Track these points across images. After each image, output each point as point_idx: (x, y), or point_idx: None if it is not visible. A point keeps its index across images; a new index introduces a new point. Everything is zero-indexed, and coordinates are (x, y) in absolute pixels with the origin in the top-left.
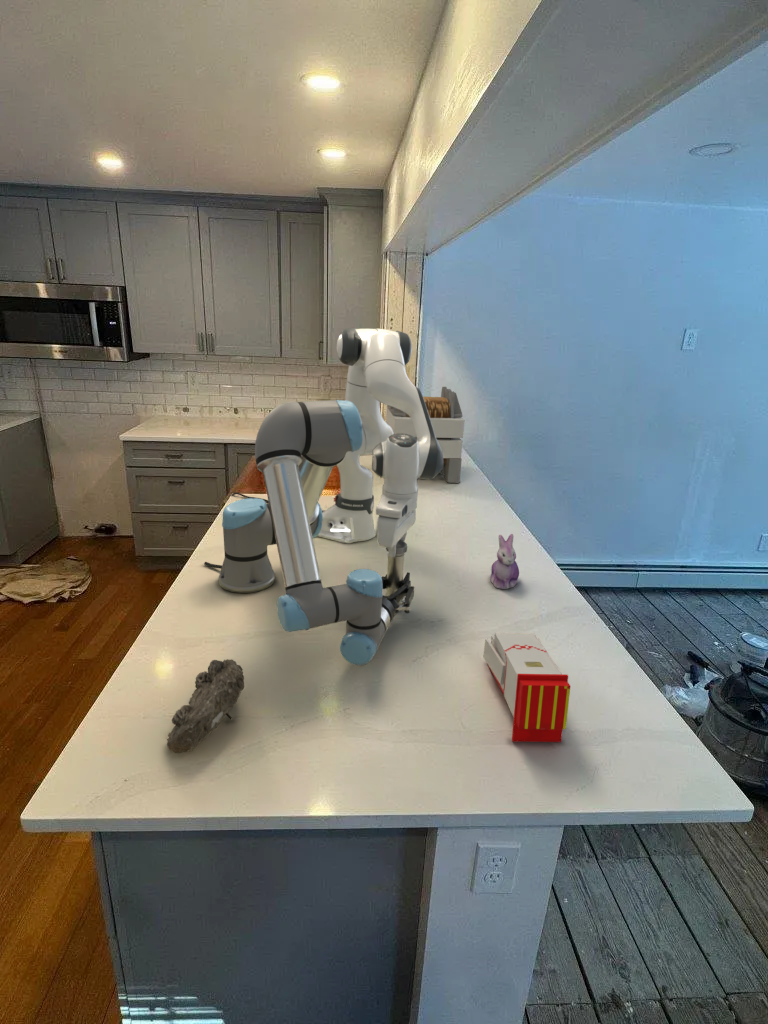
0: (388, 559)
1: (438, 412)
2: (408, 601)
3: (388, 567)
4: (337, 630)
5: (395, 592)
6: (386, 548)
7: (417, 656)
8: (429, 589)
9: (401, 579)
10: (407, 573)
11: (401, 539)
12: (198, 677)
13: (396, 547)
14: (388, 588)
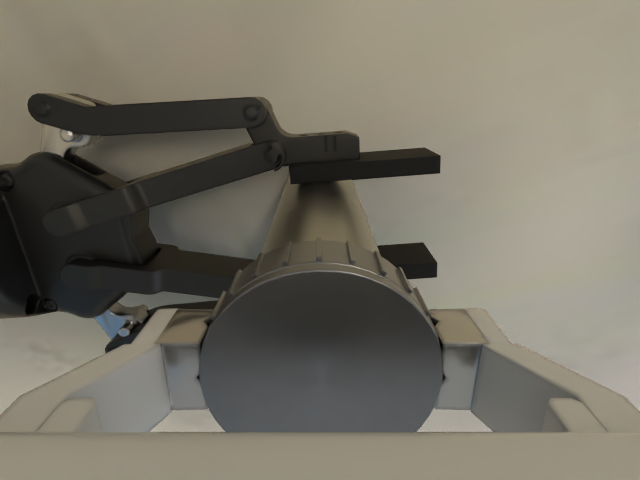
0: (271, 244)
1: None
2: None
3: (273, 227)
4: (24, 38)
5: (184, 274)
6: (254, 264)
7: (61, 350)
8: (511, 276)
9: None
10: (422, 267)
11: (481, 385)
12: None
13: (225, 403)
14: (281, 196)
